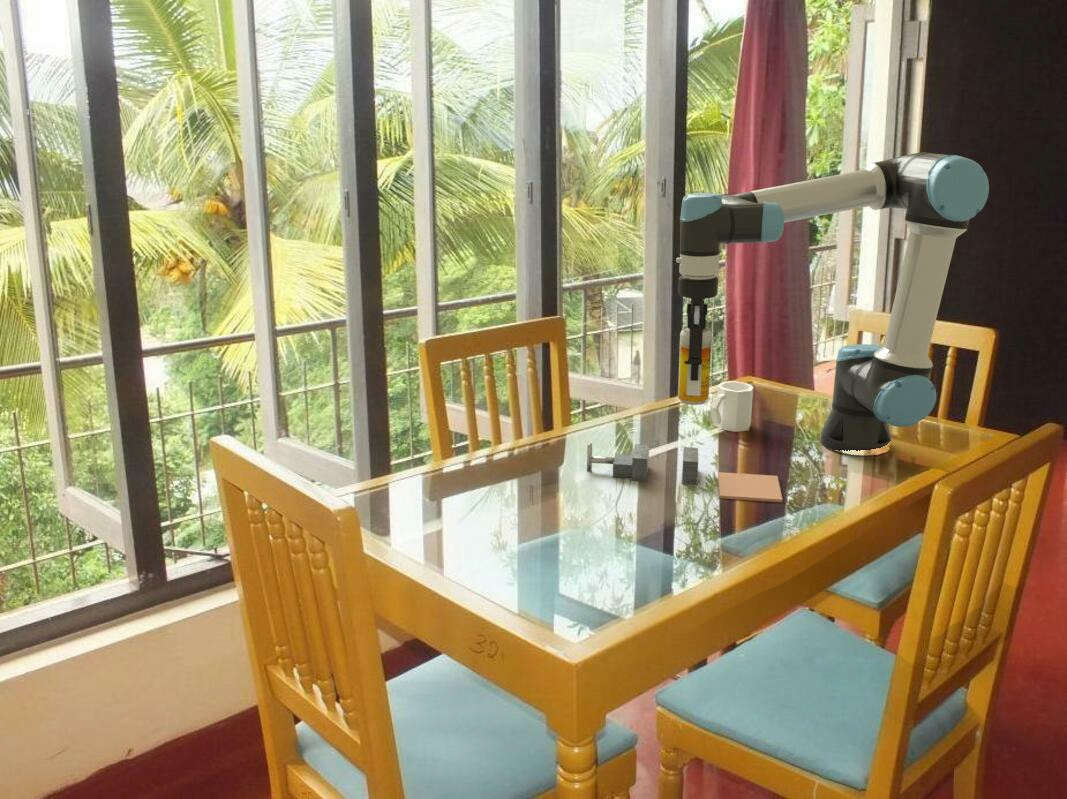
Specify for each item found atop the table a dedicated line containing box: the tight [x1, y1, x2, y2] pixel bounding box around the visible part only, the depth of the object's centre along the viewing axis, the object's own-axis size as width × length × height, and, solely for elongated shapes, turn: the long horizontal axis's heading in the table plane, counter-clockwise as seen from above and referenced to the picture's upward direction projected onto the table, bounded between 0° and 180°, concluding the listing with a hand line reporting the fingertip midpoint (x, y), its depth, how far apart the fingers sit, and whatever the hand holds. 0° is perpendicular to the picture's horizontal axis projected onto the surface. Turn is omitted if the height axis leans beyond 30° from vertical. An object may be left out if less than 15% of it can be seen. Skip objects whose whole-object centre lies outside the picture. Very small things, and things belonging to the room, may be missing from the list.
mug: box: [709, 380, 754, 433], centre depth 223 cm, size 12×9×10 cm
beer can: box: [677, 325, 712, 406], centre depth 188 cm, size 6×6×15 cm
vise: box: [586, 442, 699, 486], centre depth 197 cm, size 23×8×6 cm, turn 81°
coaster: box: [717, 471, 783, 503], centre depth 190 cm, size 12×12×1 cm
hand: (693, 389), depth 189 cm, fingers closed on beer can, 6 cm apart
